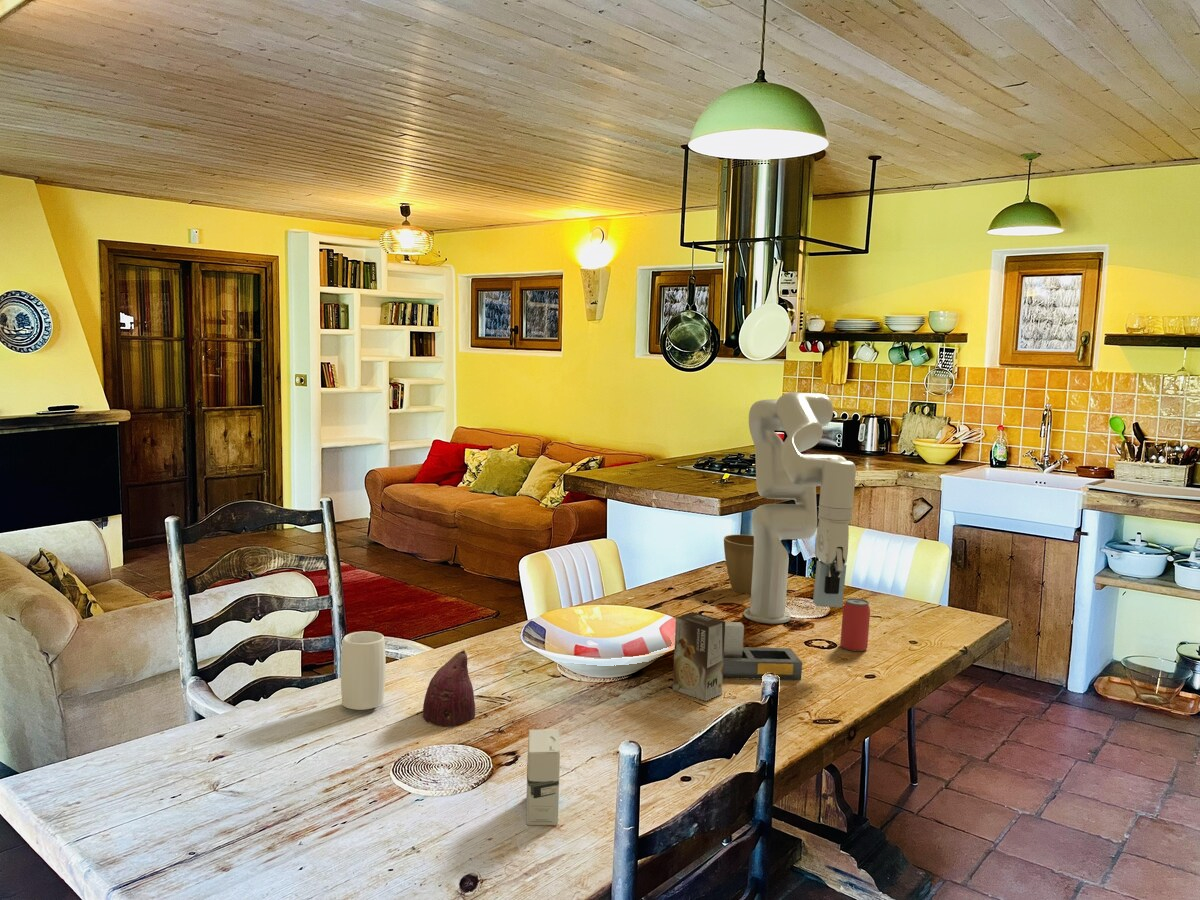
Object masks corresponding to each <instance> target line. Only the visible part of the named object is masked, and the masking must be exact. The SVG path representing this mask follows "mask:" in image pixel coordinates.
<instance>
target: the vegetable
mask: <svg viewBox="0 0 1200 900" xmlns="http://www.w3.org/2000/svg"><path fill="white" fill-rule="evenodd" d="M468 668H469V667H468V655H467V653H466V651H465V649H463V650H461V651H460V652H459V651H458V652H456V654H455V655H453V656H452V657H451V658H450V659H449V660H448V661H447V662H446V663H445V664H444V665H442V666H440V668H439V669H438V670H437V671H436V672H435V674H434V676H433V677H432V678H431V680H430V681H429V683H428V686H427V689H426V693H425V694H424V695H425V696H424V699H423V703H422V705H423V706H422V718H423V719H424V720H425V722H428V723H430V724H431V725H435V726H438V727H447V728H449V727H451V728H452V727H457V726H460V725H463V724H466V723H469V722H471V721H473V720H474V719H475V717H476V702H475V693H474V692H475V691H474V687H473V684H472V681H471V679H470V675H469V669H468Z"/></svg>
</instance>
